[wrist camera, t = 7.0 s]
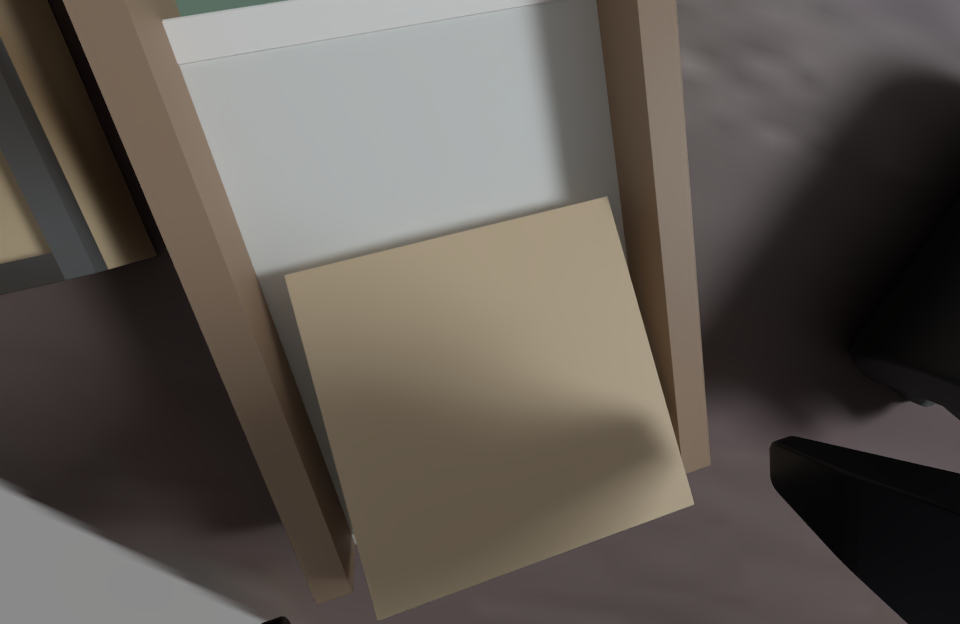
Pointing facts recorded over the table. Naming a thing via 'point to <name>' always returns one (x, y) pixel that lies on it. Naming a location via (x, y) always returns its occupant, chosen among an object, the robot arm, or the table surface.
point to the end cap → (919, 325)
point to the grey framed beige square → (55, 163)
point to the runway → (428, 264)
